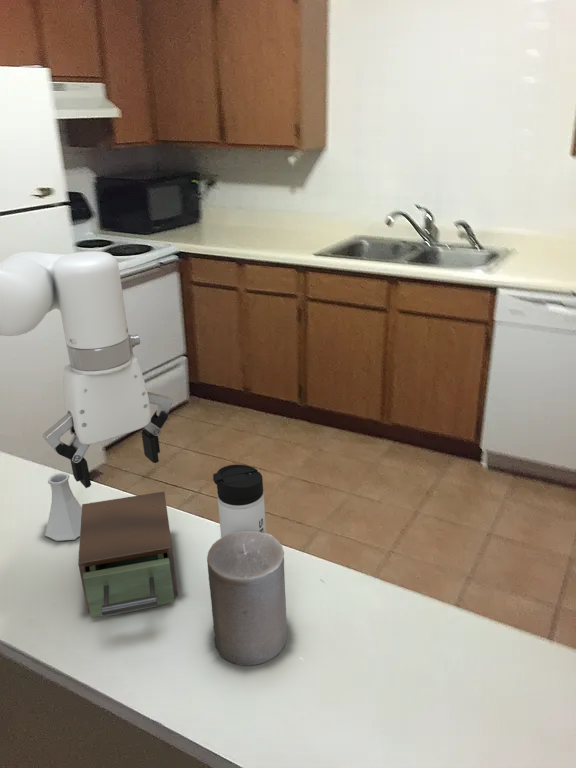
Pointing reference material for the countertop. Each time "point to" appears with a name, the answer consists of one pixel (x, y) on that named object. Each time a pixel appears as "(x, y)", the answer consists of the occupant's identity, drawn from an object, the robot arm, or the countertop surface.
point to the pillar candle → (248, 597)
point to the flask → (63, 510)
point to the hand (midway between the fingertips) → (119, 470)
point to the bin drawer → (128, 585)
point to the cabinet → (125, 532)
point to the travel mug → (240, 499)
